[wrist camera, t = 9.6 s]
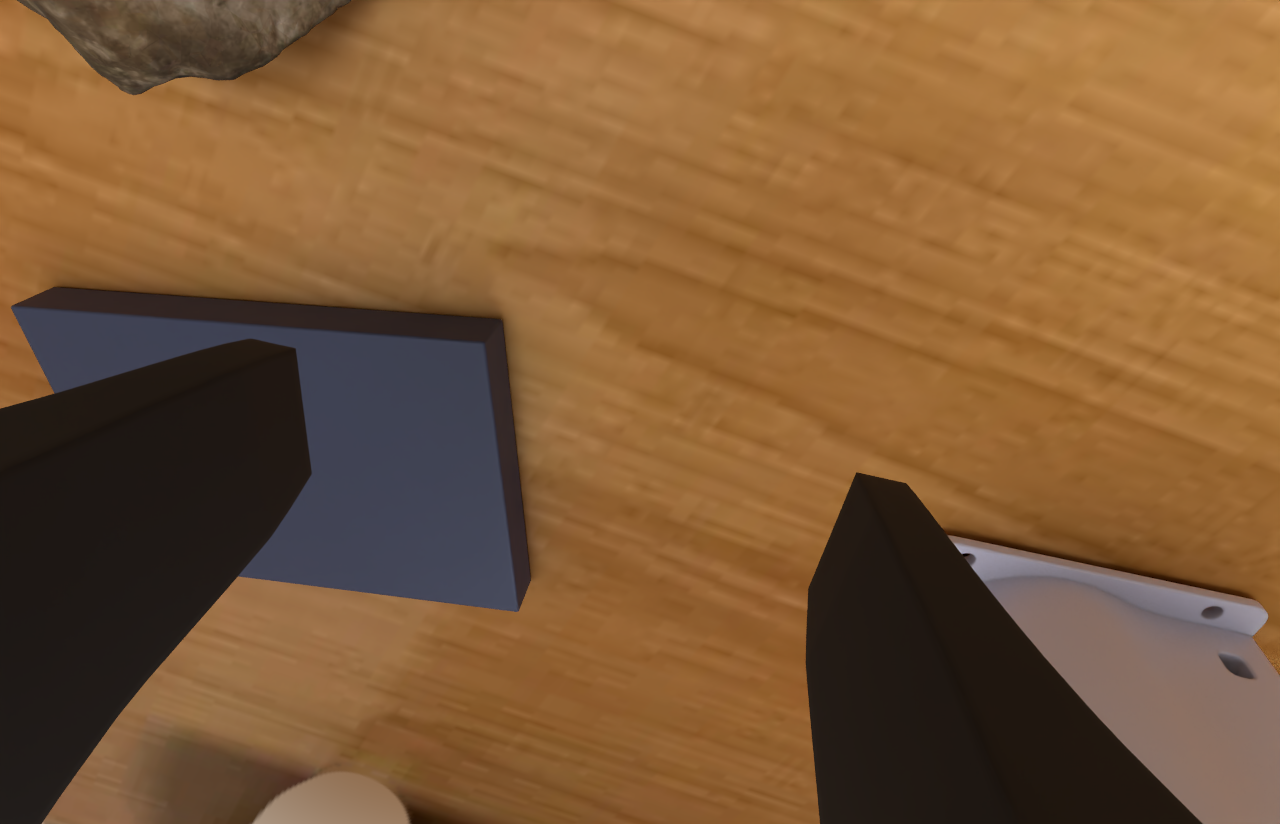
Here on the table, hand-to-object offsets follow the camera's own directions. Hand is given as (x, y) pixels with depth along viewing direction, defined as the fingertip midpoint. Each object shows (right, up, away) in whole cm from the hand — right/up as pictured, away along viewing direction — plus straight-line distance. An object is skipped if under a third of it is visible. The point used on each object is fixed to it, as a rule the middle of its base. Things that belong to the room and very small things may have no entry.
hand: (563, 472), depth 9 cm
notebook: (-10, 0, +14) cm, 17 cm away
